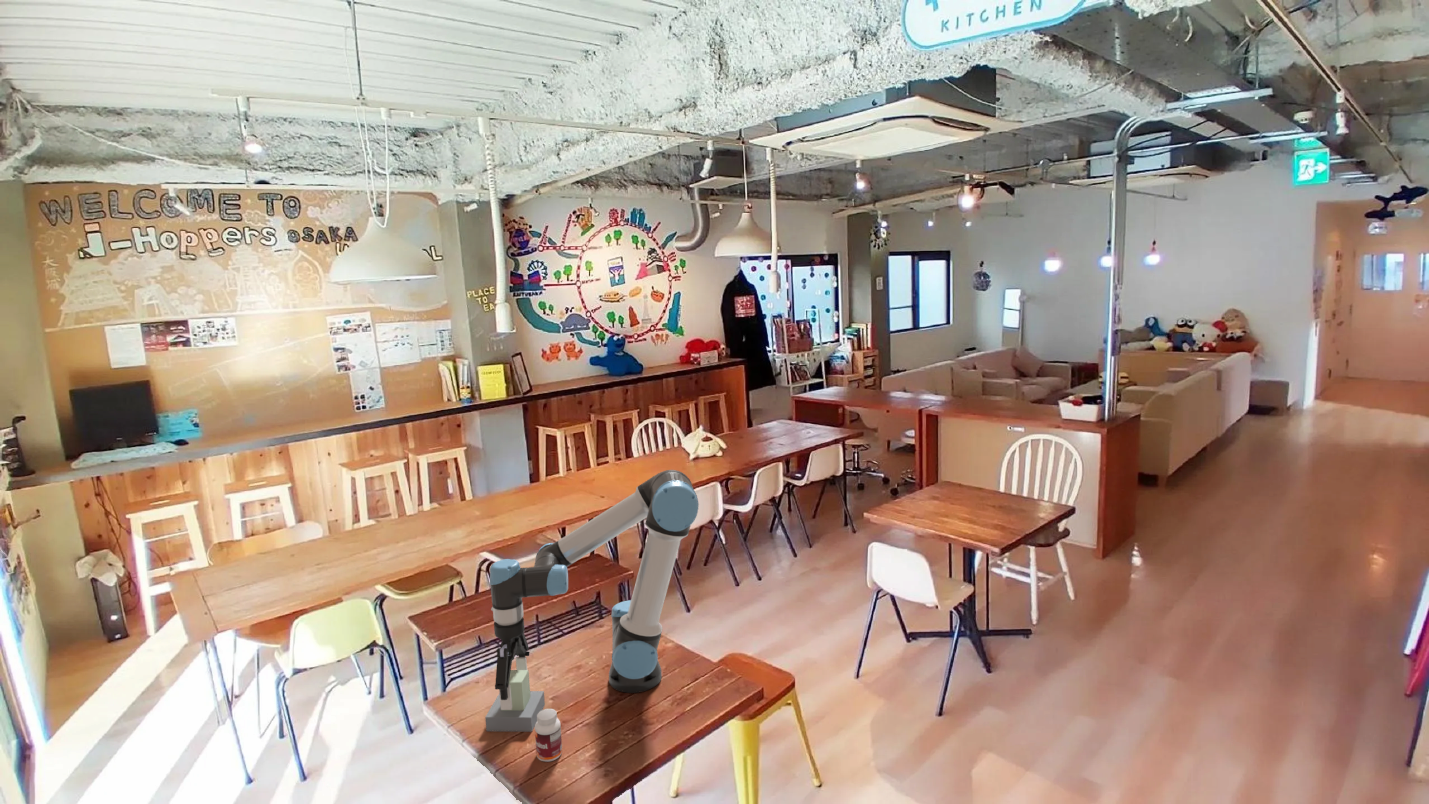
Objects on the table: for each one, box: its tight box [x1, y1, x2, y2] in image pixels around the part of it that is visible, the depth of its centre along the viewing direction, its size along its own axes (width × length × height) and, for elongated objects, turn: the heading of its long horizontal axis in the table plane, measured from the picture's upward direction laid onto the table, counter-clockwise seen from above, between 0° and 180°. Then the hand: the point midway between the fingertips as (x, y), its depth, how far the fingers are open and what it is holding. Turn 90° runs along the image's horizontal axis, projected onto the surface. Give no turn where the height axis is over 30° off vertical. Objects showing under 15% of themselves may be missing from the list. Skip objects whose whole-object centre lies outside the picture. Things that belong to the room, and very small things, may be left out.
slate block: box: [484, 690, 546, 733], centre depth 196 cm, size 12×12×4 cm
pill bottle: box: [534, 708, 563, 763], centre depth 180 cm, size 6×6×11 cm
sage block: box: [509, 669, 531, 710], centre depth 195 cm, size 6×6×8 cm
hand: (514, 693), depth 195 cm, fingers open, 13 cm apart
